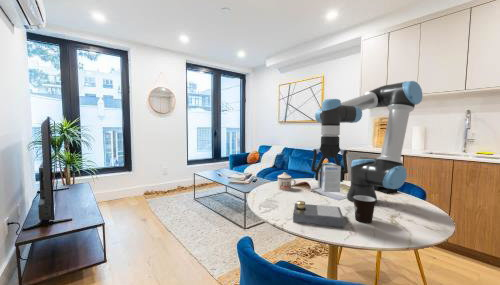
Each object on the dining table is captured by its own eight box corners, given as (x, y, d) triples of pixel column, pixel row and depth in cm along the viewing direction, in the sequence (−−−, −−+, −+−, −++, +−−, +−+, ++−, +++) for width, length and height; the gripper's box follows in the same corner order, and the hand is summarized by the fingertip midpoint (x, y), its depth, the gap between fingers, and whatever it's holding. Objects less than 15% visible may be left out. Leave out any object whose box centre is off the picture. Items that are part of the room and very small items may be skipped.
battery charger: (368, 190, 151) (368, 184, 150) (378, 188, 155) (378, 183, 154) (387, 195, 139) (387, 189, 139) (397, 193, 143) (397, 187, 143)
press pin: (305, 209, 103) (305, 201, 103) (305, 212, 100) (305, 203, 99) (297, 209, 104) (297, 200, 104) (296, 211, 101) (296, 203, 100)
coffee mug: (374, 226, 93) (374, 202, 92) (351, 222, 97) (352, 199, 97) (375, 217, 103) (376, 195, 102) (354, 213, 107) (355, 192, 107)
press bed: (339, 215, 105) (339, 206, 104) (343, 228, 91) (343, 217, 91) (295, 211, 110) (295, 202, 109) (293, 222, 96) (293, 212, 96)
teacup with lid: (279, 192, 143) (279, 174, 142) (275, 188, 152) (276, 171, 151) (297, 192, 144) (298, 173, 143) (293, 188, 153) (293, 171, 152)
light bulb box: (317, 185, 104) (318, 162, 103) (332, 186, 104) (333, 162, 103) (324, 192, 93) (324, 166, 93) (340, 192, 93) (341, 166, 92)
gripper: (354, 136, 98) (352, 188, 99) (305, 135, 103) (304, 184, 105) (357, 136, 91) (355, 192, 92) (305, 135, 96) (304, 188, 97)
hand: (328, 188), depth 98 cm, fingers closed on light bulb box, 7 cm apart
